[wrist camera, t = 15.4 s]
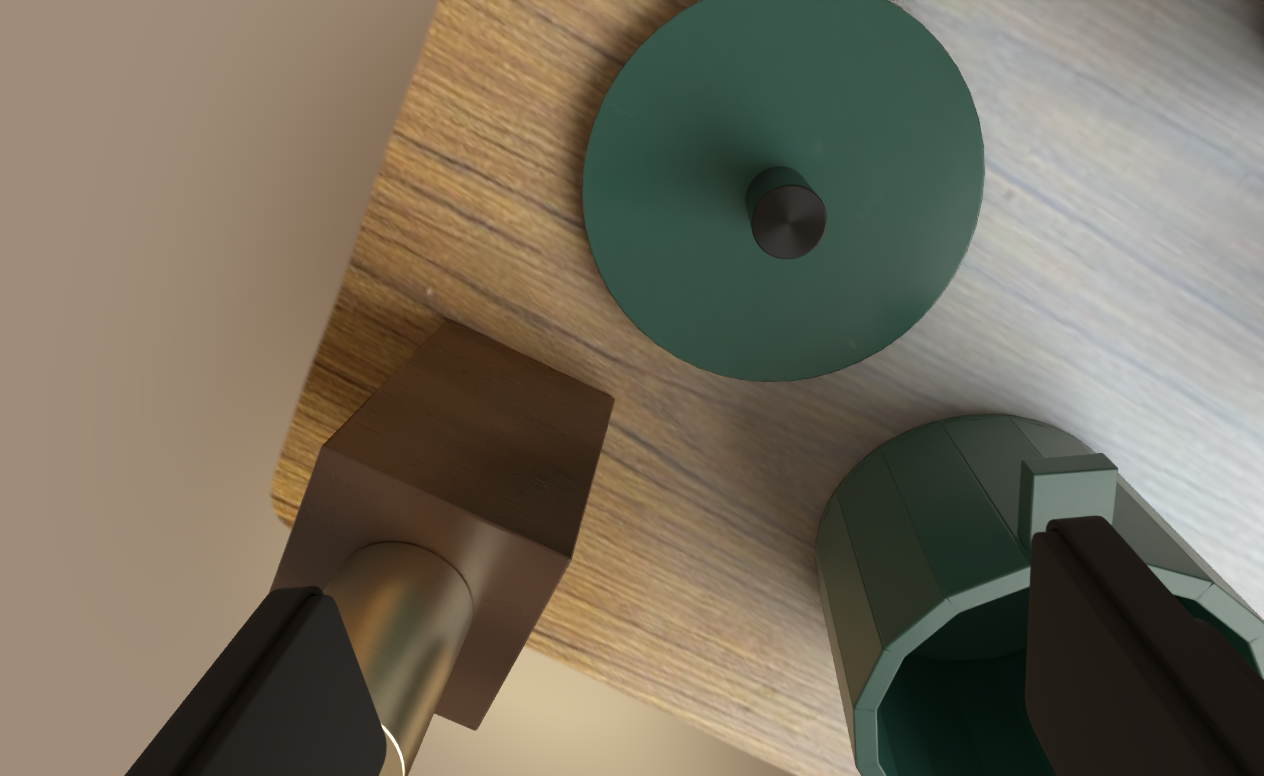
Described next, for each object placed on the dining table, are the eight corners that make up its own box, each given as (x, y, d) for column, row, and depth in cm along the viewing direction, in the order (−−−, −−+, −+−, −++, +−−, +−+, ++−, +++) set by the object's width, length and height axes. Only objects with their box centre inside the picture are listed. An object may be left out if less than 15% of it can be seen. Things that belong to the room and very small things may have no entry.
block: (544, 533, 37) (476, 732, 26) (389, 462, 36) (252, 637, 25) (615, 398, 34) (572, 560, 23) (448, 317, 33) (320, 445, 22)
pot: (825, 712, 40) (862, 920, 30) (804, 371, 33) (843, 500, 23) (1108, 702, 38) (1243, 919, 28) (1150, 337, 31) (1349, 463, 21)
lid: (615, 387, 34) (599, 447, 29) (555, 16, 28) (521, 6, 23) (970, 353, 32) (1022, 411, 27) (980, -55, 26) (1047, -83, 21)
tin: (357, 659, 25) (261, 825, 20) (318, 546, 24) (200, 693, 18) (486, 652, 25) (424, 821, 19) (456, 536, 23) (377, 685, 18)
